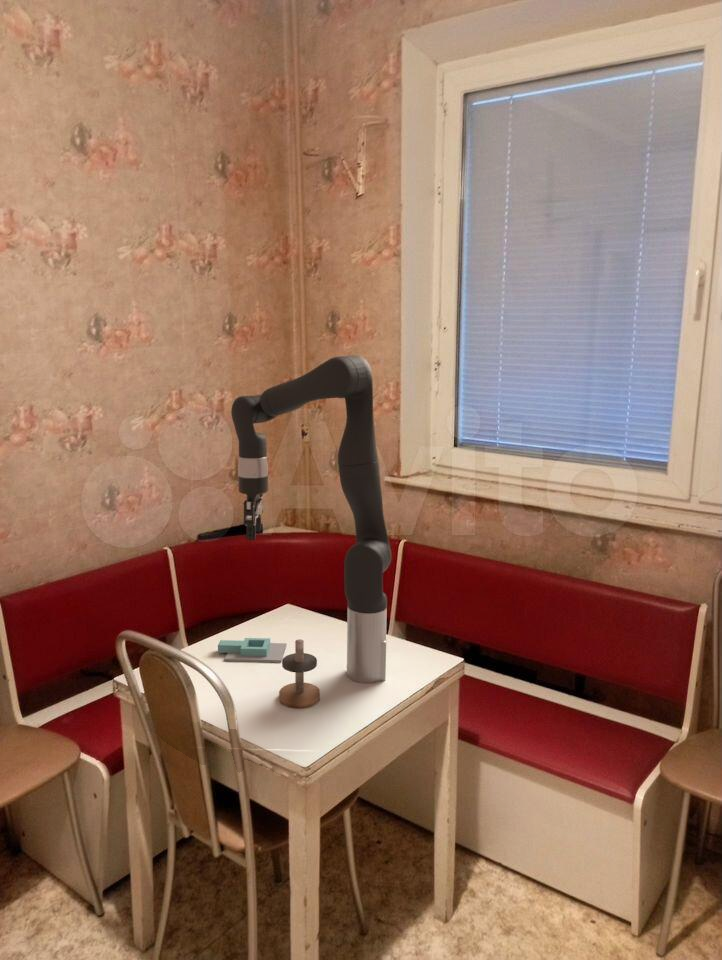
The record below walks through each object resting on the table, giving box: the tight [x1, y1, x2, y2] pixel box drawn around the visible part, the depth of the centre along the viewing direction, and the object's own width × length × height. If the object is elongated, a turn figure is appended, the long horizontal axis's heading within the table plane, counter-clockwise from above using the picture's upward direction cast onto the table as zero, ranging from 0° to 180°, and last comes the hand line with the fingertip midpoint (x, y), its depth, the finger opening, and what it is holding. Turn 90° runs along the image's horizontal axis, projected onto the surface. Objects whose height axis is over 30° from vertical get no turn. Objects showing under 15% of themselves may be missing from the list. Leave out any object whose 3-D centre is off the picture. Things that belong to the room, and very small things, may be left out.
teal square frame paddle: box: [217, 637, 271, 657], centre depth 179 cm, size 12×6×2 cm, turn 89°
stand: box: [278, 639, 321, 710], centre depth 155 cm, size 9×9×14 cm
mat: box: [224, 642, 287, 664], centre depth 179 cm, size 14×10×1 cm
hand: (254, 535), depth 184 cm, fingers open, 8 cm apart
